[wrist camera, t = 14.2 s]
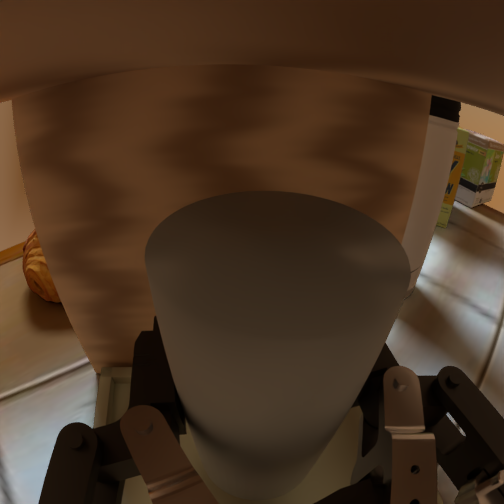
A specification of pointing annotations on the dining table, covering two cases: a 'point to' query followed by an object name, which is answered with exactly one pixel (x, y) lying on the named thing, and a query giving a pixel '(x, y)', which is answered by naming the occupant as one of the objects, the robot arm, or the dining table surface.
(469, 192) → the tea box
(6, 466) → the dining table surface
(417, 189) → the travel mug
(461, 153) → the protein box
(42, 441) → the dining table surface
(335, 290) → the grey rounded cylinder
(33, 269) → the croissant
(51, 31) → the wooden shelf stand
